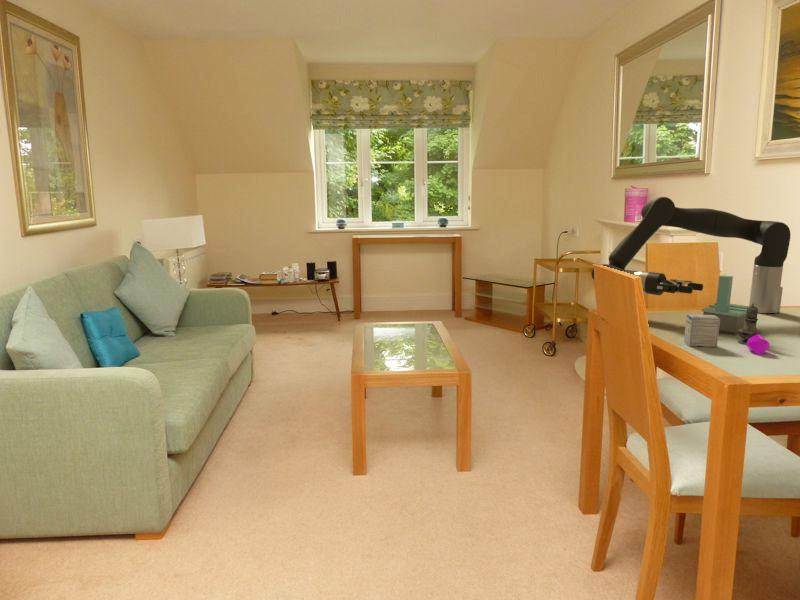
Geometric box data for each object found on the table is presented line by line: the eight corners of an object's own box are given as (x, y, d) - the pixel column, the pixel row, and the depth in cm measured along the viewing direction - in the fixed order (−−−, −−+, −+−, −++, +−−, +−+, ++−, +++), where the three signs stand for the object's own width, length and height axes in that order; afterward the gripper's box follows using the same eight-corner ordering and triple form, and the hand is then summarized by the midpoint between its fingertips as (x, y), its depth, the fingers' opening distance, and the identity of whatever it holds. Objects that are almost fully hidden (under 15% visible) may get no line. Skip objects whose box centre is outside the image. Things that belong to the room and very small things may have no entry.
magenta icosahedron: (742, 350, 175) (744, 334, 174) (757, 349, 177) (759, 333, 176) (758, 355, 170) (760, 339, 169) (773, 354, 172) (775, 338, 171)
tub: (720, 322, 210) (721, 305, 209) (752, 327, 203) (754, 309, 202) (701, 329, 199) (703, 311, 198) (735, 335, 192) (737, 316, 191)
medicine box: (711, 343, 182) (714, 315, 180) (717, 347, 177) (720, 318, 176) (683, 342, 182) (686, 314, 181) (688, 346, 178) (691, 317, 176)
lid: (720, 304, 210) (724, 270, 208) (756, 309, 202) (761, 274, 200) (701, 311, 198) (705, 274, 196) (738, 316, 191) (743, 279, 188)
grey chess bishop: (752, 346, 179) (757, 306, 177) (732, 342, 184) (737, 302, 182) (763, 344, 182) (768, 304, 180) (743, 339, 187) (748, 300, 185)
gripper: (639, 273, 206) (689, 279, 195) (658, 270, 216) (707, 275, 205) (638, 296, 208) (687, 303, 196) (656, 291, 217) (704, 297, 206)
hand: (697, 288), depth 200 cm, fingers open, 8 cm apart
